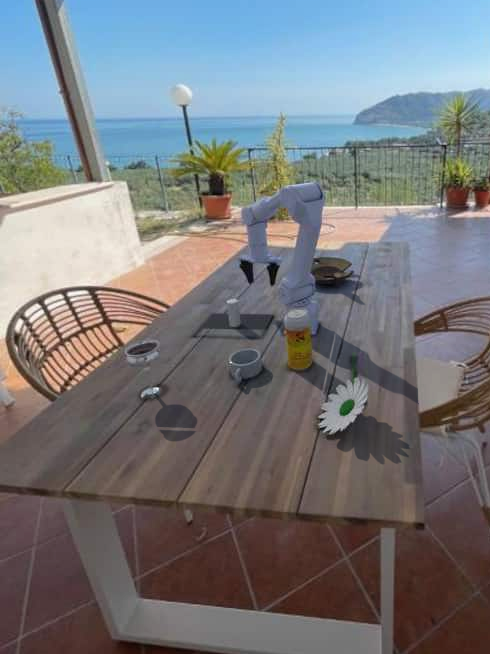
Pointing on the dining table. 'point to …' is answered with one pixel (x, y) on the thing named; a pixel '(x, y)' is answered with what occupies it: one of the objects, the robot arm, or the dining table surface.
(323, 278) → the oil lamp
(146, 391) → the wineglass
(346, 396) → the flower
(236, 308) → the white peg
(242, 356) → the steel mug
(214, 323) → the rubber mat
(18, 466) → the dining table surface
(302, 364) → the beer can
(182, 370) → the dining table surface
